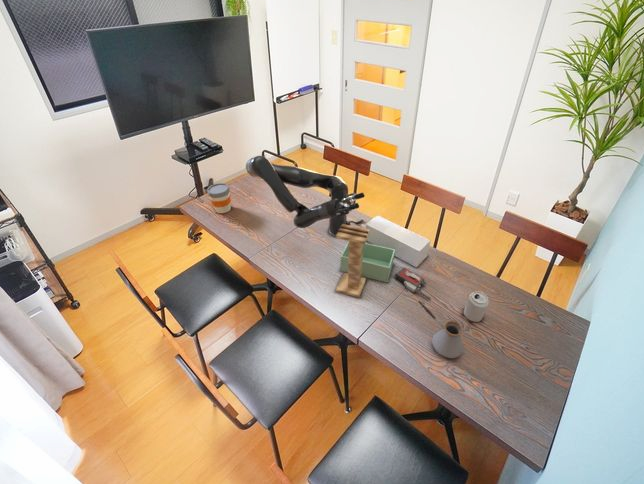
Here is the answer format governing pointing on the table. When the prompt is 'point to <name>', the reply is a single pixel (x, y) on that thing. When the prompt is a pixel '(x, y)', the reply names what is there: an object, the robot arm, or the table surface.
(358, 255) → the stand
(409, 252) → the stack of papers
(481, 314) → the can
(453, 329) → the coffee pot
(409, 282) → the walkie-talkie
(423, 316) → the table surface
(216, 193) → the reusable coffee cup
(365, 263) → the bin
